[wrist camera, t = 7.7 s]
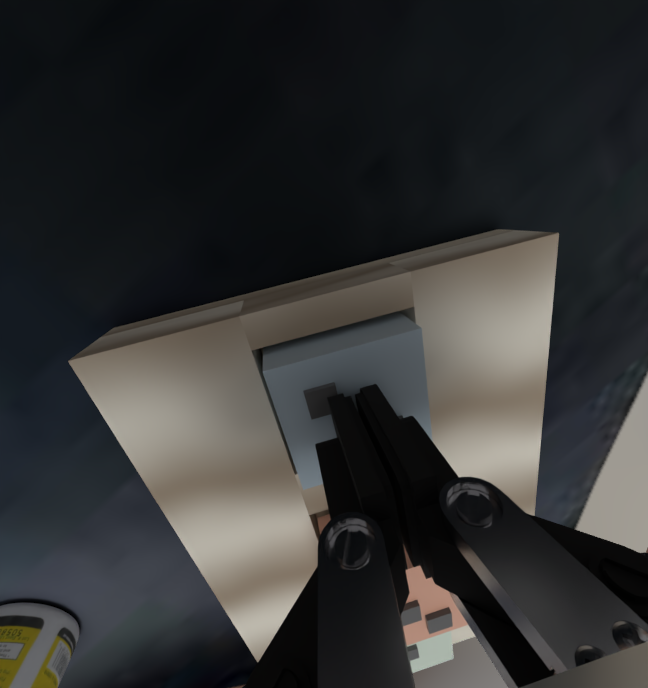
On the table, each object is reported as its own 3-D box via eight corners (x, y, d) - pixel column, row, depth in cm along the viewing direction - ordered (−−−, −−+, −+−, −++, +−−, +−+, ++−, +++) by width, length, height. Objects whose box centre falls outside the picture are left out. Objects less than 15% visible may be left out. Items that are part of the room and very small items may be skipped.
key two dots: (263, 336, 12) (262, 374, 9) (387, 303, 12) (424, 330, 9) (296, 436, 14) (303, 494, 11) (402, 405, 14) (435, 454, 11)
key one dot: (342, 579, 18) (356, 648, 16) (422, 553, 19) (451, 616, 16) (357, 624, 20) (372, 692, 18) (429, 600, 21) (455, 663, 18)
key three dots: (317, 517, 14) (330, 601, 11) (426, 484, 14) (468, 556, 11) (339, 584, 16) (356, 669, 13) (434, 553, 16) (471, 630, 13)
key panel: (113, 327, 12) (67, 361, 9) (497, 229, 13) (558, 232, 10) (281, 641, 22) (283, 702, 19) (494, 570, 23) (525, 618, 20)
